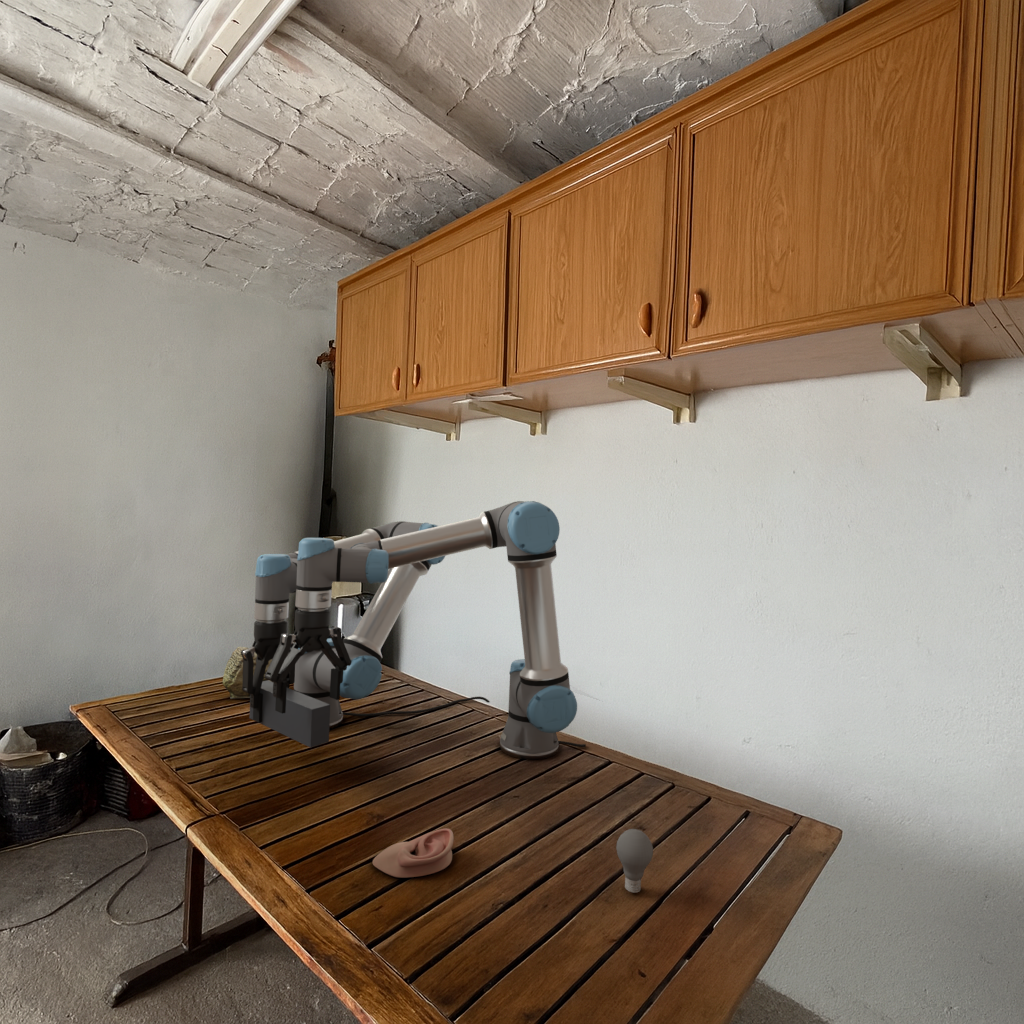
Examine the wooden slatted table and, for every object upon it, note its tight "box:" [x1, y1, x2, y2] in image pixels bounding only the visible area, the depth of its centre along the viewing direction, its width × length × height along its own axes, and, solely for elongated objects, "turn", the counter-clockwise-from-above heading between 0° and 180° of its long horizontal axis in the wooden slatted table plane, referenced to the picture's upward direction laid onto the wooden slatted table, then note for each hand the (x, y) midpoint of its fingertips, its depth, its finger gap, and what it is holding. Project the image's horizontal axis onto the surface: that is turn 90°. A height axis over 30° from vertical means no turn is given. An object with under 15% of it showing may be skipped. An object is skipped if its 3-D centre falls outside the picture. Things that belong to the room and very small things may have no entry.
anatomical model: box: [372, 828, 455, 879], centre depth 112 cm, size 13×4×12 cm
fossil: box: [222, 646, 273, 699], centre depth 198 cm, size 9×18×15 cm, turn 132°
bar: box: [249, 680, 330, 749], centre depth 144 cm, size 25×5×8 cm, turn 51°
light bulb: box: [615, 828, 654, 894], centre depth 106 cm, size 6×6×10 cm
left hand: (267, 717), depth 150 cm, fingers closed on bar, 5 cm apart
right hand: (308, 704), depth 139 cm, fingers open, 13 cm apart
